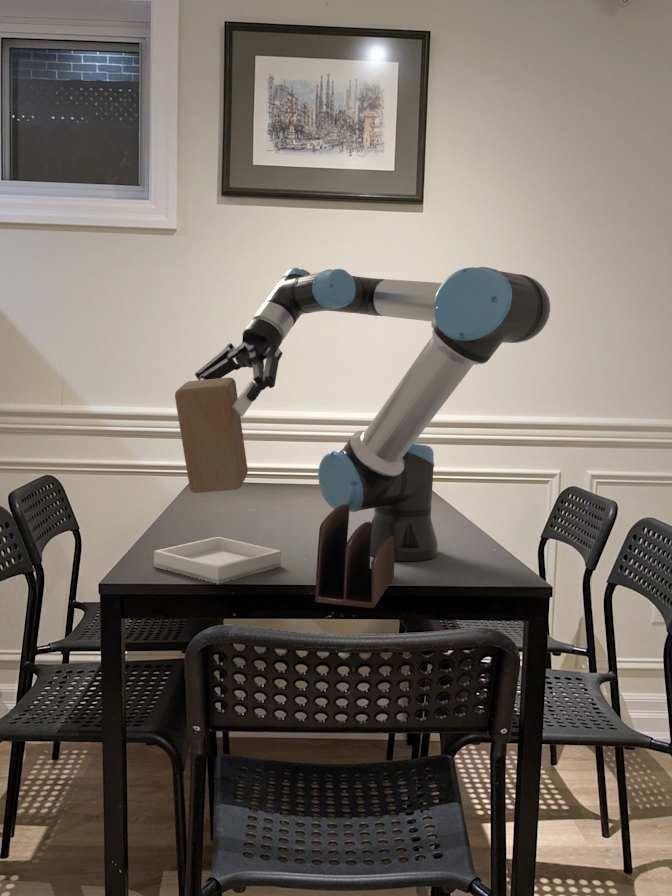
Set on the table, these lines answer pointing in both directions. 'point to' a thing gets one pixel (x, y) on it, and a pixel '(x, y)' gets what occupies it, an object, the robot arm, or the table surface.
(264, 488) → the table surface
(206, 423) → the block
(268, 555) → the tray
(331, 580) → the letter holder
